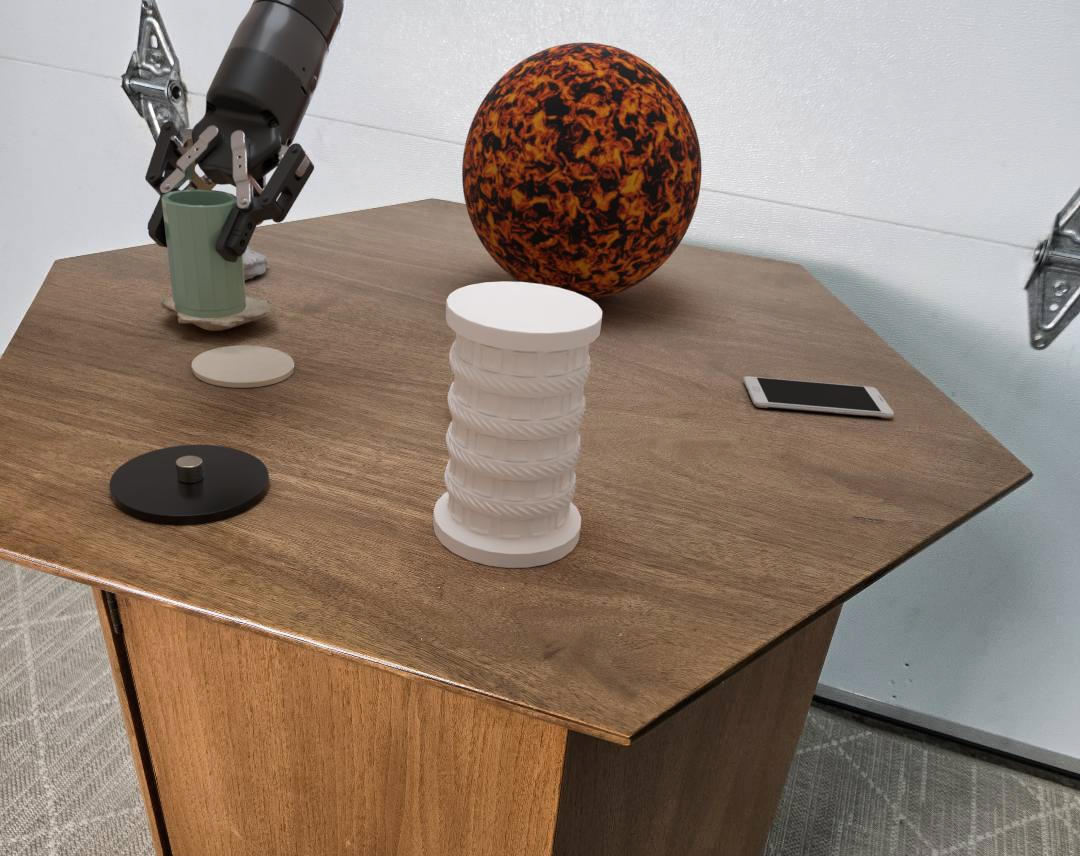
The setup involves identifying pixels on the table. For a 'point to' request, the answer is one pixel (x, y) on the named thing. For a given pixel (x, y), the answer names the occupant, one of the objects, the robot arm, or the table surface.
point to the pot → (201, 254)
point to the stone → (253, 263)
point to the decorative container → (515, 422)
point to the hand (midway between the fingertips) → (191, 248)
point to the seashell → (252, 312)
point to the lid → (189, 484)
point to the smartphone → (817, 397)
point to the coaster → (243, 366)
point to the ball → (582, 169)
